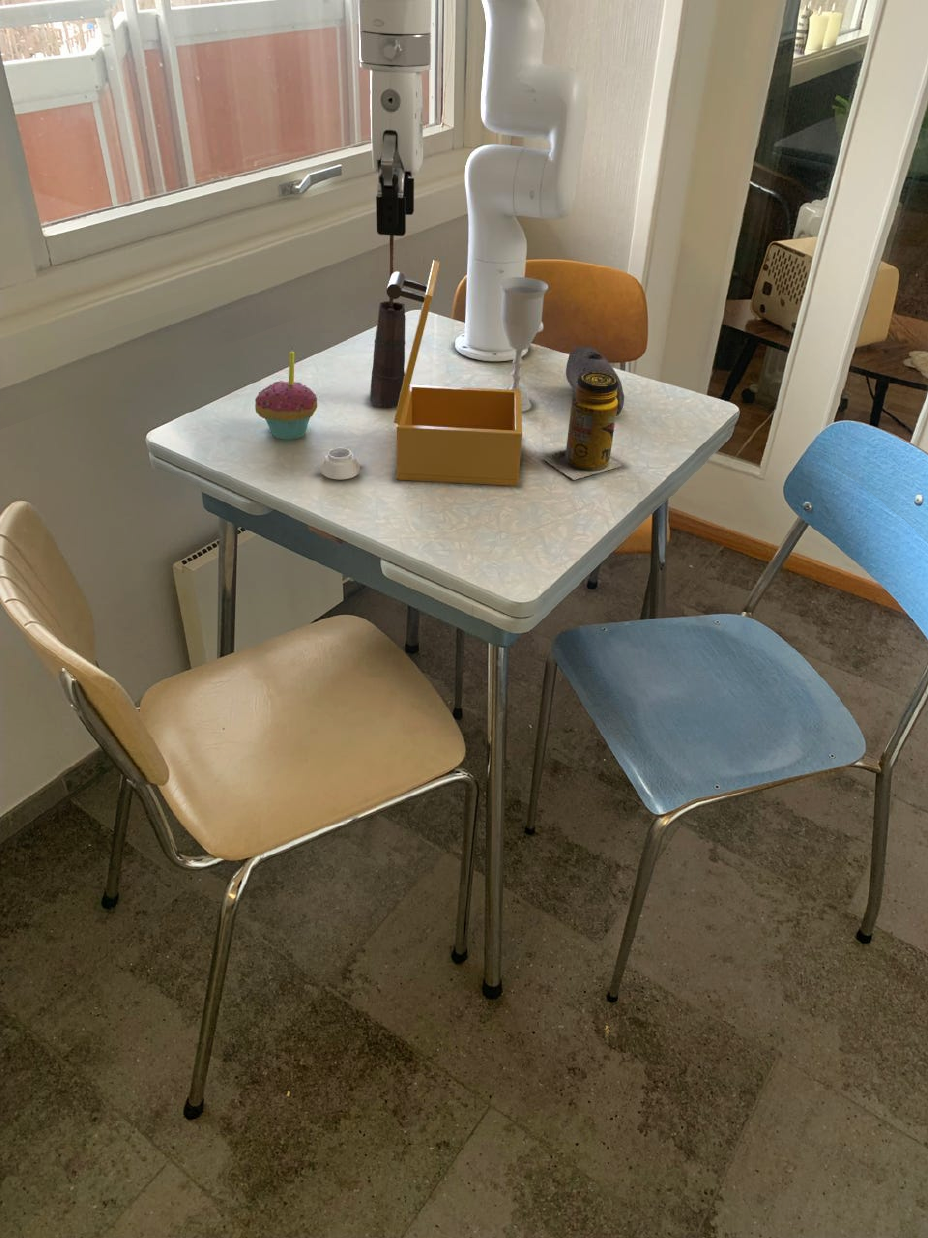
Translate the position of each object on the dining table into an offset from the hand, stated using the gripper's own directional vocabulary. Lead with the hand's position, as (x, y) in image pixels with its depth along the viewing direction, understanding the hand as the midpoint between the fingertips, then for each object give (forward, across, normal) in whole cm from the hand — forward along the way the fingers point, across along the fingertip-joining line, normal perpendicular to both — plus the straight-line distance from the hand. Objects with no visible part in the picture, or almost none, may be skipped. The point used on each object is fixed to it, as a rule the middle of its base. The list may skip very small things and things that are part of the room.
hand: (396, 223), depth 107 cm
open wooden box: (+30, 0, -8) cm, 31 cm away
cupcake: (+30, +5, +16) cm, 34 cm away
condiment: (+30, +1, -25) cm, 39 cm away
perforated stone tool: (+30, +21, -28) cm, 46 cm away
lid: (+14, 0, -3) cm, 14 cm away
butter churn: (+30, +16, +3) cm, 34 cm away
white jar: (+30, -6, +7) cm, 31 cm away
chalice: (+30, +19, -16) cm, 39 cm away
